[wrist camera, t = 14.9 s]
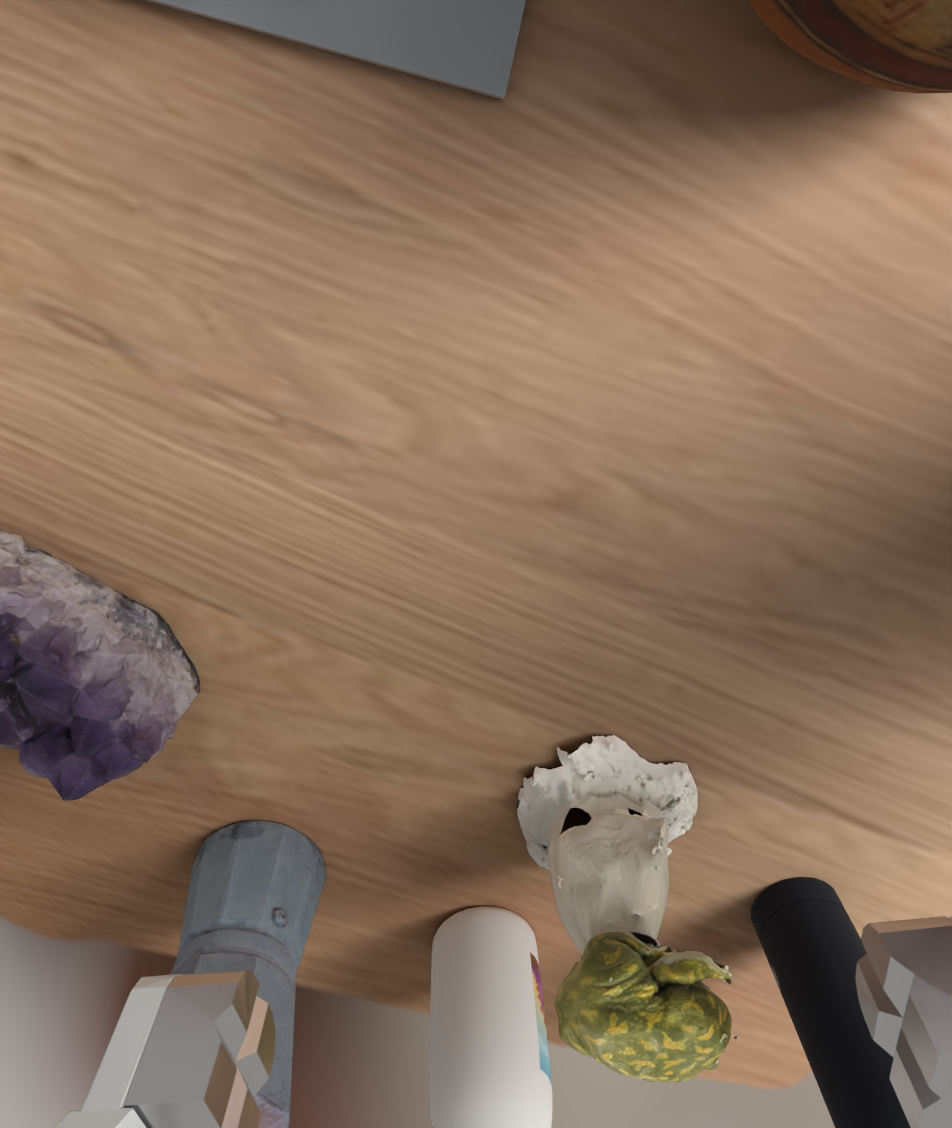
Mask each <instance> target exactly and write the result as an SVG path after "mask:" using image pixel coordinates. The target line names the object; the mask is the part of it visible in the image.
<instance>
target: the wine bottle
mask: <svg viewBox="0 0 952 1128" xmlns="http://www.w3.org/2000/svg"><path fill="white" fill-rule="evenodd" d="M751 916H752V922H753V925H754V927H755V930H756V932H757V935H758V937H759V939H760V942H761V944H762V947H763V949H764V952H765V954H766V957H767V959H768V962H769V964H770V967H771V969H772V972H773V974H774V977H775V979H776V982H777V984H778V987H779V989H780V992H781V994H782V997H783V999H784V1001H785V1004H786V1006H787V1009H788V1011H789V1014H790V1016H791V1019H792V1021H793V1024H794V1026H795V1029H796V1031H797V1034H798V1036H799V1039H800V1041H801V1044H802V1046H803V1049H804V1051H805V1054H806V1056H807V1059H808V1061H809V1064H810V1066H811V1068H812V1071H813V1073H814V1076H815V1078H816V1081H817V1083H818V1086H819V1088H820V1091H821V1093H822V1096H823V1098H824V1101H825V1103H826V1105H827V1108H828V1110H829V1113H830V1116H831V1118H832V1121H833V1123H834V1126H835V1128H911V1127H910V1125H909V1122H908V1120H907V1118H906V1115H905V1113H904V1111H903V1109H902V1106H901V1104H900V1102H899V1099H898V1097H897V1095H896V1092H895V1090H894V1088H893V1085H892V1083H891V1081H890V1078H889V1077H890V1073H891V1068H892V1064H893V1059H894V1058H893V1057H892V1056H891V1055H890V1054H889V1053H888V1052H886V1051H885V1050H884V1049H883V1048H882V1047H881V1046H880V1045H878V1044H877V1043H876V1042H875V1041H874V1040H873V1038H872V1036H871V1034H870V1031H869V1029H868V1026H867V1024H866V1021H865V1019H864V1016H863V1013H862V1009H861V1006H860V1003H859V1000H858V993H857V986H856V979H855V977H856V968H857V961H859V960H860V959H861V958H862V957H863V956H865V955H866V954H867V952H866V950H865V948H864V946H863V943H862V941H861V938H860V937H859V935H858V933H857V931H856V929H855V927H854V925H853V923H852V922H851V920H850V918H849V916H848V914H847V912H846V910H845V909H844V907H843V905H842V903H841V901H840V899H839V897H838V896H837V894H836V892H835V890H834V888H833V887H831V886H830V885H828V884H827V883H826V882H824V881H821V880H817V879H814V878H794V879H789V880H784V881H782V882H780V883H777V884H775V885H772V886H771V887H769V888H768V889H767V890H765V891H764V892H762V893H761V895H760V896H759V897H758V898H757V899H756V900H755V902H754V904H753V907H752V910H751Z"/></svg>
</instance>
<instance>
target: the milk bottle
mask: <svg viewBox="0 0 952 1128" xmlns="http://www.w3.org/2000/svg"><path fill="white" fill-rule="evenodd" d="M429 1076H430V1110H431V1120H432V1127H433V1128H551V1123H552V1087H551V1075H550V1062H549V1052H548V1042H547V1033H546V1023H545V1014H544V1005H543V996H542V987H541V978H540V969H539V961H538V952H537V945H536V938H535V935H534V932H533V931H532V929H531V927H530V926H529V925H528V923H527V922H526V921H525V920H524V919H523V918H522V917H521V916H519V915H517V914H516V913H514V912H512V911H509V910H506V909H502V908H498V907H487V906H485V907H474V908H470V909H466V910H463V911H460V912H457V913H456V914H454V915H452V916H450V917H449V918H448V919H447V920H445V921H444V922H443V923H442V925H441V926H440V927H439V928H438V930H437V932H436V934H435V936H434V939H433V945H432V966H431V1008H430V1075H429Z"/></svg>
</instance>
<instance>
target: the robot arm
mask: <svg viewBox="0 0 952 1128" xmlns="http://www.w3.org/2000/svg"><path fill="white" fill-rule="evenodd" d="M861 941H862V943H863V946H864V948H865V950H866V952H867V954H866V955H865V956H863V957H862V958H861V959H860V960H859V961H857V968H856V977H855V979H856V986H857V993H858V1000H859V1003H860V1006H861V1009H862V1013H863V1016H864V1019H865V1021H866V1024H867V1026H868V1029H869V1031H870V1034H871V1036H872V1038H873V1040H874V1041H875V1042H876V1043H877V1044H878V1045H880V1046H881V1047H882V1048H883V1049H884V1050H885V1051H886V1052H888V1053H889V1054H890V1055H891V1056H892V1057H893V1058H894V1059H893V1064H892V1068H891V1073H890V1077H889V1078H890V1081H891V1083H892V1085H893V1088H894V1090H895V1092H896V1095H897V1097H898V1099H899V1102H900V1104H901V1106H902V1109H903V1111H904V1113H905V1115H906V1118H907V1120H908V1122H909V1125H910V1127H911V1128H952V917H946V916H941V917H931V918H920V919H909V920H899V921H888V922H877V923H868V924H867V925H866V926H865V927H864V928H863V933H862V938H861ZM258 988H259V982H258V980H257V978H256V976H255V974H254V973H253V971H252V970H242V971H228V972H214V973H200V974H186V975H182V974H175V975H163V976H152V977H142V978H141V979H140V980H139V981H138V983H137V984H136V985H135V987H134V988H133V989H132V990H131V992H130V994H129V996H128V999H127V1001H126V1004H125V1006H124V1008H123V1011H122V1013H121V1016H120V1018H119V1020H118V1023H117V1025H116V1028H115V1030H114V1032H113V1035H112V1037H111V1040H110V1042H109V1044H108V1047H107V1050H106V1052H105V1054H104V1057H103V1059H102V1061H101V1064H100V1066H99V1068H98V1071H97V1073H96V1076H95V1078H94V1081H93V1083H92V1086H91V1088H90V1090H89V1092H88V1095H87V1097H86V1100H85V1102H84V1105H83V1107H82V1109H81V1110H77V1111H70V1112H69V1113H68V1114H67V1115H66V1116H65V1117H64V1118H63V1119H62V1120H61V1121H60V1123H59V1124H58V1125H57V1126H56V1127H55V1128H258V1126H259V1122H260V1117H261V1114H260V1112H259V1109H258V1106H257V1104H256V1101H255V1099H254V1096H255V1095H256V1094H257V1093H258V1091H259V1090H260V1089H261V1088H262V1087H263V1085H264V1084H265V1083H266V1082H267V1080H268V1079H269V1078H270V1073H271V1068H272V1064H273V1059H274V1054H275V1035H276V1028H275V1022H274V1016H273V1012H272V1010H271V1008H270V1006H269V1003H267V1002H266V1001H264V1000H262V999H261V998H259V997H257V992H258Z"/></svg>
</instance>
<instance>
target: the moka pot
mask: <svg viewBox="0 0 952 1128" xmlns="http://www.w3.org/2000/svg"><path fill="white" fill-rule="evenodd" d="M325 879H326V873H325V865H324V863H323V859H322V855H321V852H320V851H319V849H318V847H317V846H316V845H315V844H314V843H313V842H312V841H311V840H310V839H309V838H307V837H306V836H305V835H303V834H302V833H300V832H299V831H297V830H295V829H292V828H290V827H288V826H285V825H282V824H278V823H273V822H268V821H246V822H239V823H235V824H232V825H230V826H227V827H225V828H222V829H220V830H218V831H217V832H215V833H214V834H211V835H210V836H209V837H208V838H207V839H205V841H204V842H203V844H202V846H201V848H200V850H199V853H198V855H197V856H196V858H195V861H194V864H193V866H192V872H191V878H190V884H189V889H188V896H187V902H186V909H185V915H184V921H183V926H182V932H181V940H180V946H179V951H178V956H177V958H176V961H175V964H174V967H173V970H172V972H171V973H170V974H169V975H175V974H182V975H186V974H200V973H214V972H228V971H242V970H252V971H253V973H254V974H255V976H256V978H257V980H258V982H259V988H258V992H257V997H259V998H261V999H262V1000H264V1001H266V1002H267V1003H269V1006H270V1008H271V1010H272V1012H273V1016H274V1022H275V1028H276V1035H275V1054H274V1059H273V1064H272V1068H271V1073H270V1078H269V1079H268V1080H267V1082H266V1083H265V1084H264V1085H263V1087H262V1088H261V1089H260V1090H259V1091H258V1093H257V1094H256V1095H255V1096H254V1099H255V1101H256V1104H257V1106H258V1109H259V1112H260V1114H261V1117H260V1122H259V1126H258V1128H289V1114H290V1113H289V1112H290V1095H291V1071H292V1052H293V1031H294V1008H295V983H296V970H297V967H298V965H299V963H300V960H301V957H302V954H303V951H304V947H305V944H306V941H307V938H308V935H309V931H310V928H311V924H312V921H313V918H314V915H315V912H316V909H317V906H318V902H319V898H320V896H321V893H322V889H323V886H324V883H325Z"/></svg>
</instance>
